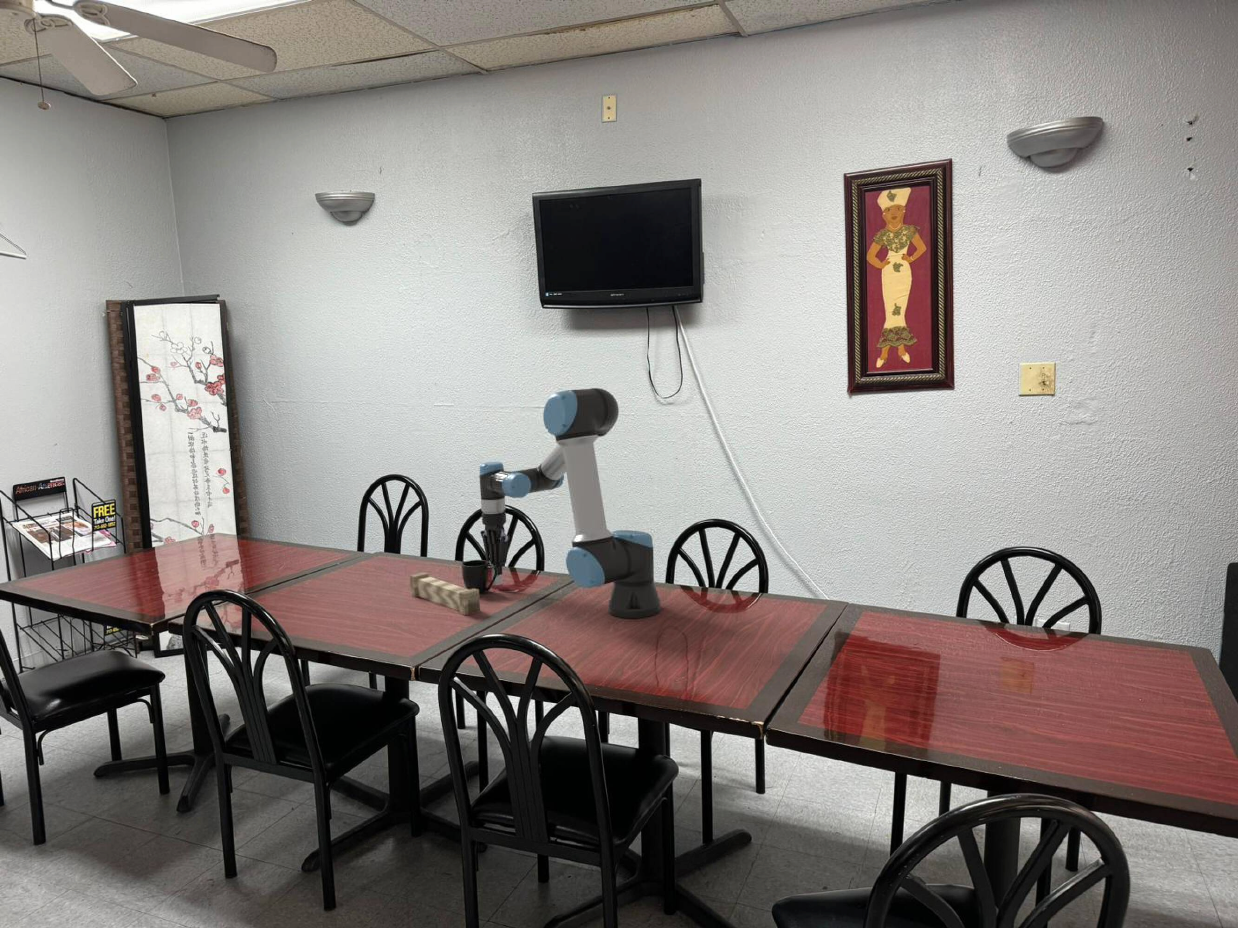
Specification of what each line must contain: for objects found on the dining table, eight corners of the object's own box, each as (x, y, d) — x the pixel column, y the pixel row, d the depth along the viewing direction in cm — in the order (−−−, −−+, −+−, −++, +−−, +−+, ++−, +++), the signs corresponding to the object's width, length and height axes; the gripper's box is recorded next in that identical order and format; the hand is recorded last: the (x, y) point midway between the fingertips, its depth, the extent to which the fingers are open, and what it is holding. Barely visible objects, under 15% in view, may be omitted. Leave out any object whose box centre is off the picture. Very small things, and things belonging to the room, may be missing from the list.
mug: (491, 598, 271) (489, 568, 269) (458, 594, 276) (456, 565, 274) (505, 591, 278) (503, 561, 277) (472, 587, 283) (471, 558, 282)
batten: (480, 611, 259) (478, 589, 258) (465, 615, 255) (463, 593, 254) (425, 591, 280) (424, 572, 279) (411, 595, 277) (409, 575, 276)
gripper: (515, 512, 275) (519, 585, 279) (491, 506, 285) (495, 577, 288) (495, 515, 270) (500, 590, 274) (471, 510, 280) (476, 582, 283)
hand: (497, 583), depth 281 cm, fingers closed
